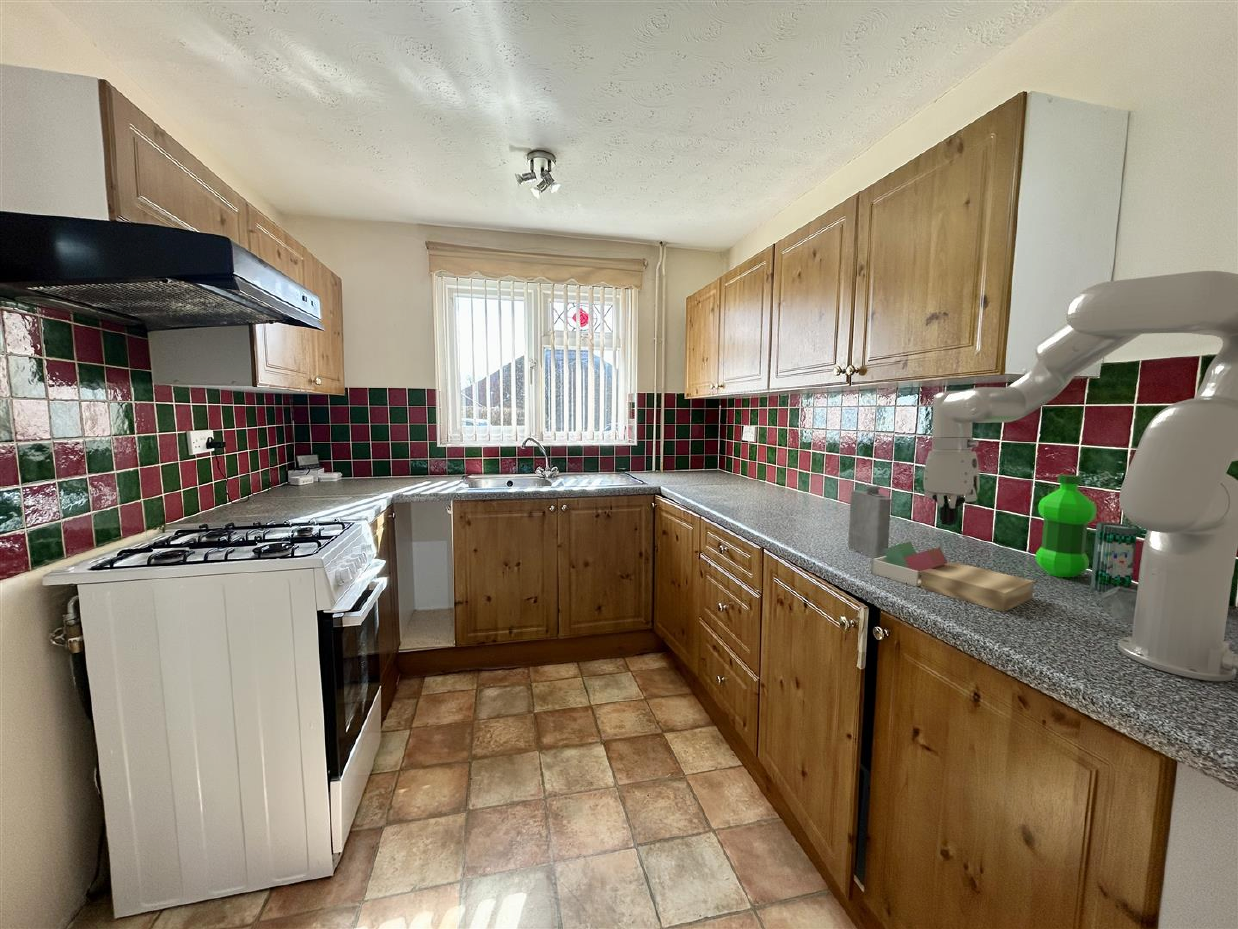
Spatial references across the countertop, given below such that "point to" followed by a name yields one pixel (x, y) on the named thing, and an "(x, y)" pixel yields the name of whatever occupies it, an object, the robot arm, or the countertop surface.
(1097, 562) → the green printed upright box
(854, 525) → the hip flask
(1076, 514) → the plastic bottle
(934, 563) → the pink toy cube
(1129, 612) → the stone
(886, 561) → the tray
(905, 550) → the green block
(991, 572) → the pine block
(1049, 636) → the countertop surface
